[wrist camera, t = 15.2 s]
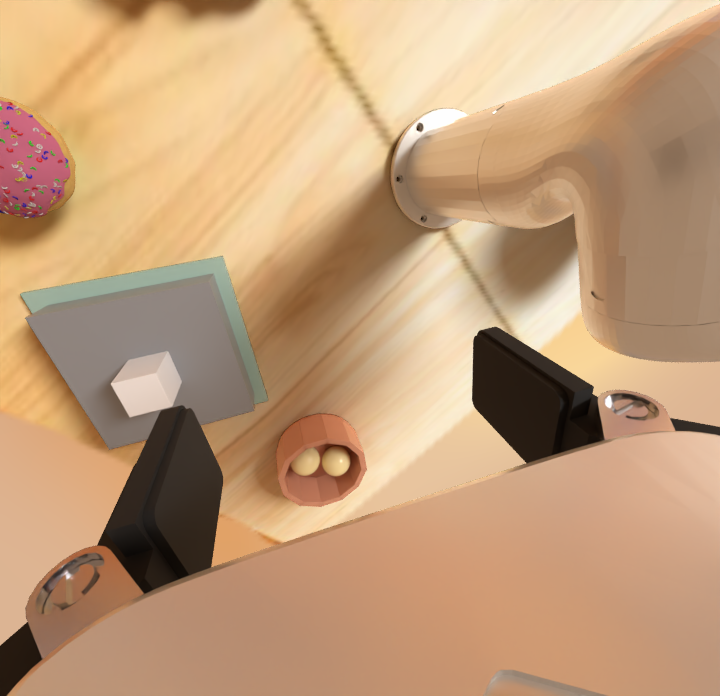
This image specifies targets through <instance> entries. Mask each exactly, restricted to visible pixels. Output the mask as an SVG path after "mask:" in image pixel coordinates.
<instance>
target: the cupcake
mask: <svg viewBox="0 0 720 696" xmlns="http://www.w3.org/2000/svg"><path fill="white" fill-rule="evenodd" d="M74 189H75V162H74V159H73V157H72V155H71V153H70V151H69V149H68V147H67V145H66V143H65V141H64V139H63V138H62V136H61V135H60V133H59V132H58V131H57V130H56V129H55V128H54V127H53V126H52V125H50V124H49V123H48V122H47V121H46V120H45V119H43V118H42V117H41V116H40V115H39V114H38V113H36V112H35V111H34V110H32V109H30V108H29V107H27V106H24V105H22V104H20V103H18V102H15V101H13V100H10V99H6V98H2V97H0V213H6V214H11V215H15V216H20V217H24V218H25V217H27V218H32V217H40V216H44V215H46V214H47V212H50V211H52V210H55V209H58V208H60V207H61V206H63V205H64V203H65V202H66V201H67V200H68V199H69V198H70V197H71V196H72V194H73V192H74Z"/></svg>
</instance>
